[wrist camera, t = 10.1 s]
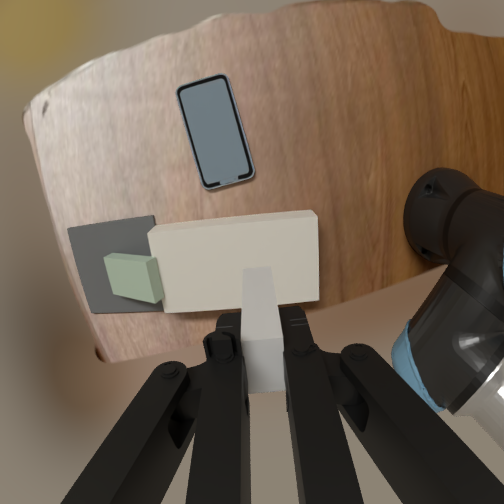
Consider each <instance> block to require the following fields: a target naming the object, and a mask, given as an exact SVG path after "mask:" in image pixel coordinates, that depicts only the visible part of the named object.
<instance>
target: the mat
mask: <svg viewBox="0 0 504 504" xmlns="http://www.w3.org/2000/svg"><path fill="white" fill-rule="evenodd" d="M154 226H155V220H154V215H151V216H144V217H136V218H129V219H122V220H115V221H109V222H102V223H96V224H89V225H83V226H77V227H71V228H68V229H67V230H68V234H69V239H70V243H71V247H72V251H73V254H74V258H75V262H76V266H77V269H78V273H79V276H80V279H81V283H82V286H83V289H84V292H85V295H86V299H87V302H88V305H89V308H90V310H91V313H115V312H141V311H162V310H164V308H163V304H162V299H161V300H160V301H158V302H157V303H156V304H155V303H150V302H146V301H141V300H137V299H132V298H128V297H124V296H119V295H115V294H113V291H112V288H111V284H110V281H109V277H108V273H107V270H106V266H105V262H104V258H103V257H105V256H107V255H109V254H111V253H121V254H131V255H142V256H152V255H151V250H150V245H149V240H148V235H147V233H148V232H149V231H150V230H151V229H152V228H153V227H154Z"/></svg>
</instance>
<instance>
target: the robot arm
mask: <svg viewBox="0 0 504 504" xmlns="http://www.w3.org/2000/svg"><path fill="white" fill-rule="evenodd" d="M404 229H405V234H406V237H407V239H408V241H409V243H410V245H411V246H412V248H413V249H414V250H415V251H416V252H417V253H418V254H420V255H421V256H422V257H424V258H425V259H427V260H429V261H431V262H434V263H439V264H447V265H448V267H447V268H446V270H445V272H444V273H443V274H442V276H441V277H440V279H439V281H438V282H437V283H436V285H435V286H434V288H433V290H432V291H431V292H430V294H429V295H428V297H427V298H426V300H425V301H424V302H423V304H422V305H421V307H420V308H419V309H418V311H417V312H416V314H415V315H414V316H413V318H412V319H410V320H409V321H408V322H407V324H406V326H405V329H404V330H403V332H402V333H401V334H400V336H399V337H398V339H397V340H396V342H395V343H394V345H393V347H392V352H391V355H392V364H393V368H394V369H393V368H392V367H391V366H390V365H389V364H388V363H387V362H386V361H385V360H384V359H383V358H382V357H381V356H380V355H379V354H378V353H377V352H376V351H375V350H374V349H373V348H372V347H370V346H368V345H365V344H357V343H356V344H351V345H348V346H346V347H344V349H343V350H342V351H341V353H329V352H325V351H322V350H321V349H319V347H318V345H317V344H315V343H314V341H313V337H312V334H311V331H310V327H309V324H308V321H307V318H306V315H305V311H304V310H302V309H301V308H300V307H299V306H293V307H283V308H278V305H277V299H276V293H275V287H274V282H273V276H272V270H271V266H267V267H256V268H246V269H243V283H242V312H238V313H226V314H222V315H221V316H220V317H219V318H218V319H217V323H216V330H215V331H214V332H212V333H209V334H208V335H207V336H206V337H205V338H204V340H203V345H204V349H205V353H206V358H207V360H206V362H204V363H202V364H200V365H197V366H194V367H190V368H186V366H185V365H184V364H183V363H181V362H177V361H169V362H165V363H162V364H160V365H159V366H157V367H156V368H155V369H154V371H153V372H152V373H151V375H150V376H149V378H148V379H147V380H146V382H145V383H144V385H143V386H142V387H141V389H140V391H139V392H138V393H137V395H136V396H135V397H134V399H133V400H132V402H131V403H130V404H129V406H128V407H127V409H126V410H125V412H124V413H123V414H122V416H121V417H120V419H119V420H118V421H117V423H116V424H115V426H114V427H113V429H112V430H111V431H110V433H109V435H108V436H107V437H106V439H105V440H104V441H103V443H102V444H101V446H100V447H99V449H98V450H97V451H96V453H95V454H94V456H93V457H92V459H91V460H90V462H89V463H88V464H87V466H86V467H85V469H84V470H83V472H82V473H81V474H80V476H79V477H78V479H77V480H76V482H75V483H74V485H73V486H72V488H71V489H70V491H69V492H68V494H67V495H66V496H65V498H64V499H63V501H62V502H61V504H161V502H162V500H163V498H164V496H165V493H166V491H167V490H168V488H169V485H170V484H171V482H172V479H173V477H174V475H175V473H176V471H177V469H178V467H179V465H180V463H181V461H182V459H183V457H184V454H185V452H186V450H187V448H188V446H189V444H190V442H191V440H192V438H193V436H194V433H195V437H194V444H193V451H192V458H191V466H190V473H189V480H188V488H187V495H186V504H251V474H250V473H251V472H250V413H249V412H250V410H249V397H248V393H249V394H252V393H264V392H275V391H285V390H286V404H287V412H288V417H289V424H290V432H291V440H292V448H293V456H294V464H295V472H296V480H297V489H298V497H299V504H364V502H363V498H362V494H361V490H360V487H359V483H358V479H357V475H356V472H355V468H354V464H353V461H352V457H351V453H350V450H349V446H348V442H347V439H346V435H345V432H344V429H343V425H342V421H341V418H340V415H339V411H340V412H341V414H342V415H343V417H344V418H345V420H346V421H347V423H348V424H349V426H350V427H351V429H352V430H353V432H354V433H355V435H356V436H357V438H358V439H359V441H360V442H361V443H362V445H363V447H364V448H365V449H366V451H367V452H368V454H369V455H370V457H371V458H372V459H373V461H374V463H375V464H376V466H377V467H378V468H379V470H380V471H381V473H382V474H383V476H384V477H385V479H386V480H387V482H388V483H389V484H390V486H391V487H392V489H393V490H394V492H395V493H396V495H397V496H398V497H399V499H400V500H401V502H402V503H403V504H504V485H503V484H502V483H501V482H500V481H499V480H498V479H497V478H496V477H495V475H494V474H493V473H492V472H491V471H490V470H489V469H488V468H487V467H486V466H485V464H484V463H483V462H482V461H481V460H480V459H479V458H478V457H477V456H476V455H475V454H474V453H473V452H472V450H470V448H469V447H468V446H467V445H466V444H465V443H464V442H463V441H462V440H461V439H460V438H459V437H458V436H457V435H456V433H455V432H453V430H452V429H451V428H450V427H449V426H448V425H447V424H446V423H445V422H444V421H443V420H442V419H441V418H440V417H439V416H438V415H437V414H436V413H438V412H440V411H443V410H445V409H446V408H447V409H448V410H449V412H451V414H452V415H453V416H456V417H457V416H472V417H473V418H474V419H475V420H476V421H477V422H478V423H479V425H480V426H481V427H482V428H483V429H484V430H485V431H486V432H487V433H488V434H489V435H490V436H491V438H492V439H493V440H494V441H495V442H496V443H497V444H498V445H499V446H500V447H501V449H503V451H504V196H502V195H499V194H496V193H493V192H489V191H486V190H483V189H481V188H480V187H479V186H478V185H477V184H476V183H475V182H474V181H473V180H471V179H470V178H469V177H468V176H467V175H465V174H464V173H462V172H460V171H458V170H454V169H450V168H436V169H433V170H430V171H429V172H427V173H425V174H424V175H423V176H421V177H420V178H419V179H418V180H417V182H416V183H415V184H414V186H413V187H412V189H411V191H410V193H409V195H408V198H407V201H406V204H405V209H404ZM338 410H339V411H338Z"/></svg>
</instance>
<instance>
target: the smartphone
mask: <svg viewBox="0 0 504 504" xmlns="http://www.w3.org/2000/svg"><path fill="white" fill-rule="evenodd" d="M176 97H177V101H178V105H179V108H180V112H181V115H182V119H183V123H184V126H185V130H186V133H187V137H188V140H189V144H190V147H191V150H192V154H193V158H194V161H195V164H196V168H197V171H198V174H199V178H200V181H201V184H202V186H203V187H204V188H205V189H208V190H210V189H214V188H217V187H221V186H224V185H228V184H231V183H235V182H239V181H242V180H246V179H249V178H251V177H252V176H253V175H254V173H255V170H254V166H253V162H252V158H251V154H250V151H249V146H248V143H247V139H246V136H245V133H244V130H243V126H242V123H241V119H240V116H239V112H238V109H237V105H236V102H235V99H234V98H233V97H234V95H233V92H232V88H231V85H230V81H229V78H228V76H227V75H226V74H223V73H219V74H215V75H212V76H208V77H205V78H202V79H199V80H195V81H192V82H189V83H186V84H183V85H180V86H179V87H178V88H177V89H176Z"/></svg>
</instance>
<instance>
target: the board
mask: <svg viewBox="0 0 504 504" xmlns="http://www.w3.org/2000/svg"><path fill="white" fill-rule="evenodd" d="M147 235H148V240H149V245H150V250H151V255H152V257H156V262H157V267H158V271H159V276H160V280H161V285H162V289H163V293H164V298H162V304H163V308H164V312H165V313H178V312H194V311H209V310H223V309H236V308H242V283H243V269H246V268H256V267H267V266H271V270H272V276H273V282H274V287H275V293H276V299H277V305H280V304H290V303H299V302H308V301H317V300H319V249H318V217H317V215H316V214H315V213H314V212H313V211H312V210H301V211H289V212H277V213H266V214H255V215H245V216H235V217H225V218H215V219H206V220H197V221H188V222H179V223H171V224H162V225H155V226H154V227H153V228H152V229H151V230H150V231H149V232H148V233H147Z"/></svg>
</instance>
